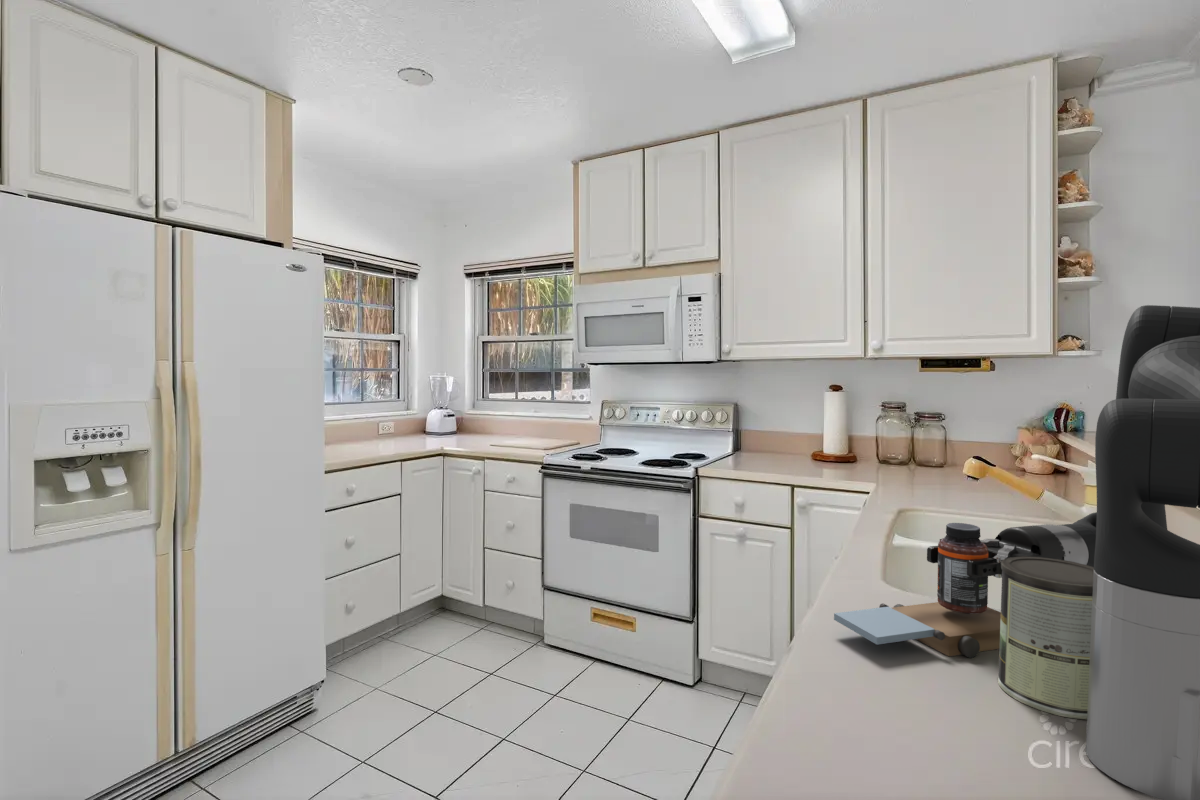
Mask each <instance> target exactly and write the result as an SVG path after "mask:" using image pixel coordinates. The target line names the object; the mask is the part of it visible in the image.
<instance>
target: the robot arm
mask: <svg viewBox="0 0 1200 800" xmlns="http://www.w3.org/2000/svg"><path fill="white" fill-rule="evenodd" d="M1115 395H1116V396H1115V399H1111V400H1110V401H1108V402H1107V403H1106V404H1105V405H1104V406H1103V408H1102V409H1101V411H1100V412H1099V415H1098V418H1097V421H1096V429H1095V431H1096V432H1095V438H1094V439H1095V442H1094V445H1095V446H1094V447H1095V451H1094V452H1095V453H1094V454H1095V455H1094V456H1095V458H1094V459H1095V480H1096V481H1095V482H1096V485H1095V486H1096V511H1095V512H1092V513H1089V514H1088V515H1085V516H1084V517H1082V518H1080V519H1078V520H1077V521H1075V522H1073V523H1067V524H1047V523H1046V524H1036V525H1035V524H1034V525H1025V526H1013V527H1008V528H1005V529H1003V530H1001V531H1000V532H999V533H998V535H996V536H995V538H984V539H980V541H981V542H982V543H984V544H985V545H986V546H987V548H988V558H982V559H972V560H969V561H968V562H967V575H968V576H970V577H972V578H978V577H986V576H988V577H992V576H993V577H995V578H997V579H1002V569H1001V561H1002V560H1004V559H1006V558H1010V557H1021V556H1027V557H1043V558H1052V559H1059V560H1065V561H1070V562H1075V563H1080V564H1084V565H1088V566H1091V567H1094V573H1093V596H1092V617H1091V640H1090V663H1089V685H1088V708H1087V711H1088V713H1087V720H1086V727H1085V728H1086V729H1085V730H1086V740H1085V752H1086V755H1087V757H1088V759H1089V761H1091V763H1092V764H1093V765H1094V766H1095V767H1097V769H1099V770H1100V771H1101V772H1103V773H1104V774H1105V775H1107V776H1109V778H1112V779H1113V780H1116V781H1117V782H1119V783H1120V784H1122V785H1124V786H1126V787H1128V788H1131V789H1132V790H1135V791H1137V792H1140V793H1142V794H1145V795H1147V796H1150V797H1152V798H1155V799H1159V800H1200V544H1199V543H1197V542H1195V541H1192V540H1189V539H1187V538H1184V537H1182V536H1180V535H1178V534H1176V533H1174V532H1171V530H1168V524H1167V523H1168V522H1167V513H1166V512H1167V511H1166V506H1172V507H1173V506H1174V507H1181V508H1182V507H1183V508H1190V509H1197V507H1198V509H1200V307H1193V306H1176V305H1175V306H1174V305H1173V306H1170V305H1153V304H1152V305H1149V304H1147V305H1141V306H1139V307H1137V308H1136V309H1135V310H1134V311H1133V312H1132V314H1131V316H1130V318H1129V319H1128V322H1127V325H1126V328H1125V330H1124V335H1123V339H1122V344H1121V351H1120V357H1119V364H1118V375H1117V383H1116V394H1115ZM941 539H942V538H939V541H940V540H941ZM926 561H927V562H928V563H932V564H938V545H932V546H931V545H930V546H928V547H927V548H926Z"/></svg>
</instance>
